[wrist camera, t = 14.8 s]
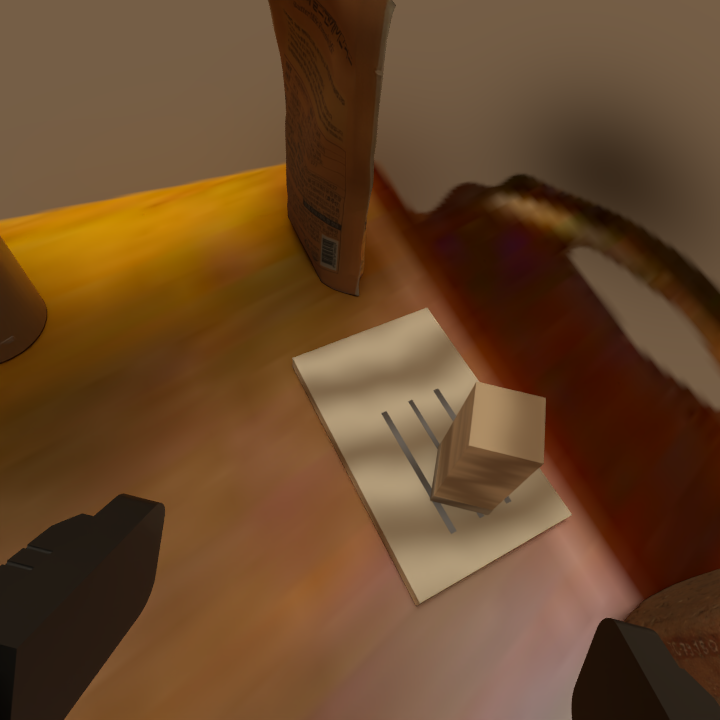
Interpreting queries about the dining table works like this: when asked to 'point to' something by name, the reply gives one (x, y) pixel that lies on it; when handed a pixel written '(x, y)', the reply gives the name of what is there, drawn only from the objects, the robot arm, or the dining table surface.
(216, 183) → the dining table surface
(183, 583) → the dining table surface
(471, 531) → the birch board
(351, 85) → the pancake mix bag
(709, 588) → the block
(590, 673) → the robot arm
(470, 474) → the tan tall block
